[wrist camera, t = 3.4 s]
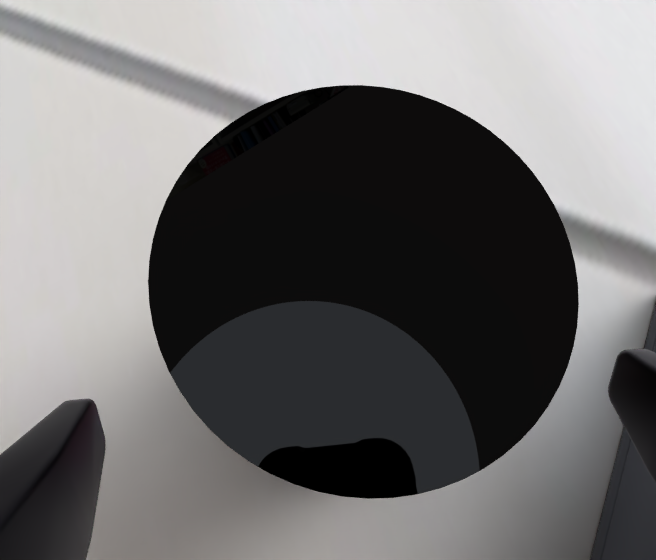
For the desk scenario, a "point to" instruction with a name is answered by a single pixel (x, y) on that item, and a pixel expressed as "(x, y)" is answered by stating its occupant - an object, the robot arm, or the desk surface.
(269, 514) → the desk surface
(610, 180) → the desk surface
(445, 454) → the supplement container
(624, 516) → the square tray
